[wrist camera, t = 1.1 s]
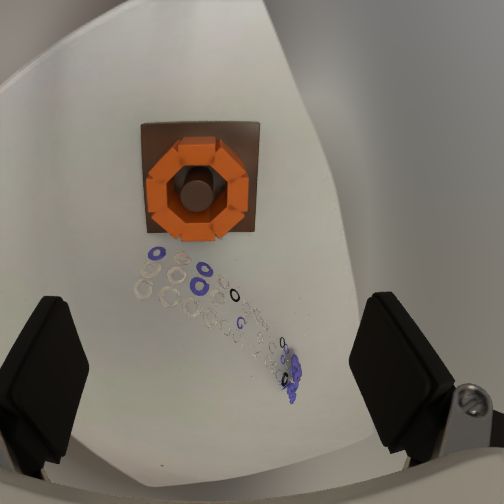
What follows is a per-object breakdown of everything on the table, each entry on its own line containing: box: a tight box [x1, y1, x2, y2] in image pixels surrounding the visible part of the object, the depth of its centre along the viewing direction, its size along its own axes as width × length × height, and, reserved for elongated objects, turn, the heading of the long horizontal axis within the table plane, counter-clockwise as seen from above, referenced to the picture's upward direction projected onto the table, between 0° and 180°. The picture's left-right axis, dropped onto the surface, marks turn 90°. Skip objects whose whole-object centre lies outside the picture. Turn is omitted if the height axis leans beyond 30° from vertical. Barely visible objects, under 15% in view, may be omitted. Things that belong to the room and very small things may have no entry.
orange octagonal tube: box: [146, 136, 249, 241], centre depth 23 cm, size 7×7×4 cm
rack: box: [141, 121, 260, 233], centre depth 23 cm, size 9×9×6 cm
